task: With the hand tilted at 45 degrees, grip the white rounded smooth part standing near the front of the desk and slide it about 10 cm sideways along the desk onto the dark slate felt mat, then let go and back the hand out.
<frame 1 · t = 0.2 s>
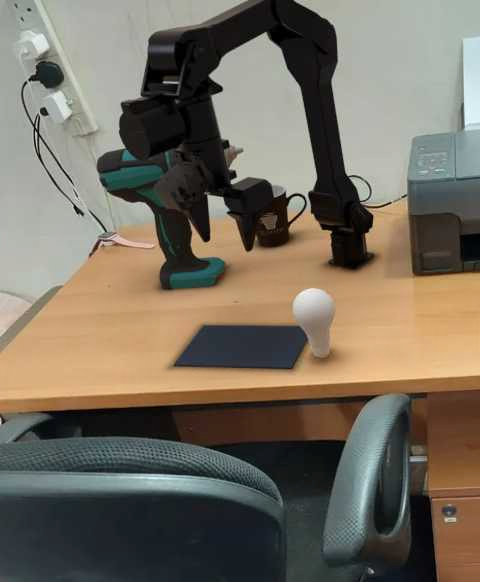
hand: (227, 246, 100), 15 cm above the table, tool pointing down, fingers open, 9 cm apart
felt mat: (245, 346, 105), on the table
coffee mug: (281, 241, 137), on the table
power drill: (204, 278, 127), on the table
white rounded smooth part: (322, 357, 100), on the table
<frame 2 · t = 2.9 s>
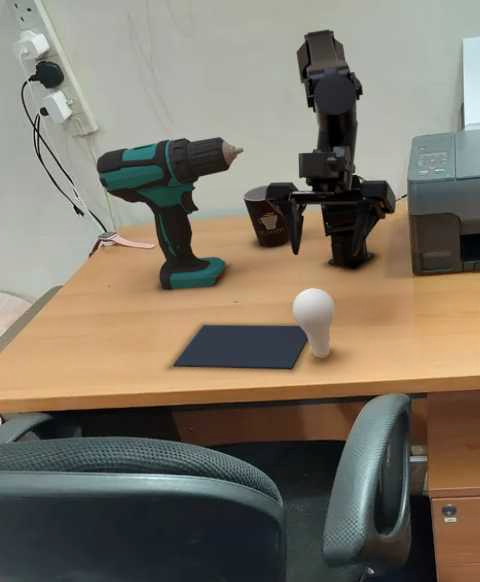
hand: (324, 254, 97), 13 cm above the table, tool tilted 45°, fingers open, 9 cm apart
nothing on the table moved.
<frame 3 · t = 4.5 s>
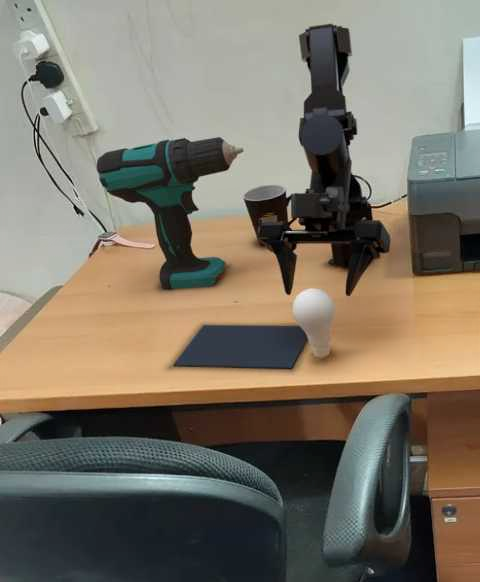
hand: (317, 294, 95), 9 cm above the table, tool tilted 45°, fingers open, 9 cm apart
nothing on the table moved.
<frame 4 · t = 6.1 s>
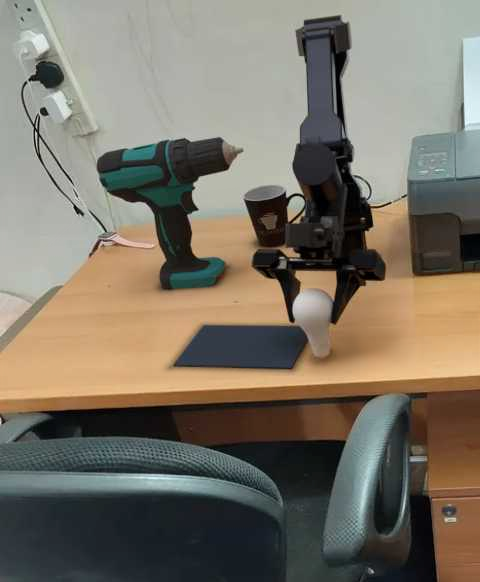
hand: (312, 323, 95), 7 cm above the table, tool tilted 45°, fingers closed on white rounded smooth part, 6 cm apart
white rounded smooth part: (322, 358, 100), on the table, touching gripper
everything else where it was.
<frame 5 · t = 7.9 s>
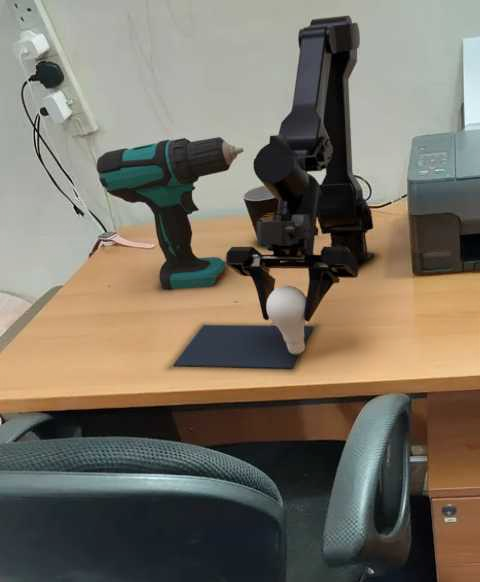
hand: (286, 320, 96), 7 cm above the table, tool tilted 45°, fingers closed on white rounded smooth part, 6 cm apart
white rounded smooth part: (297, 354, 101), resting on felt mat, touching gripper
everything else where it was.
when the fingers open (7 cm above the table, at t = 9.9 s): white rounded smooth part stays where it is, resting on felt mat.
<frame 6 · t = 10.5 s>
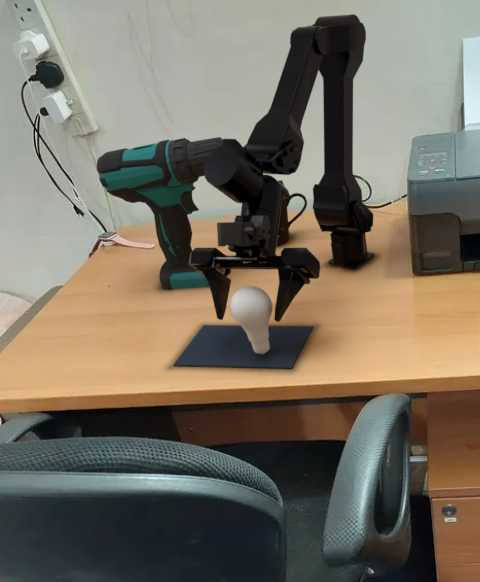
hand: (248, 320, 97), 7 cm above the table, tool tilted 45°, fingers open, 9 cm apart
white rounded smooth part: (263, 354, 102), resting on felt mat
everything else where it was.
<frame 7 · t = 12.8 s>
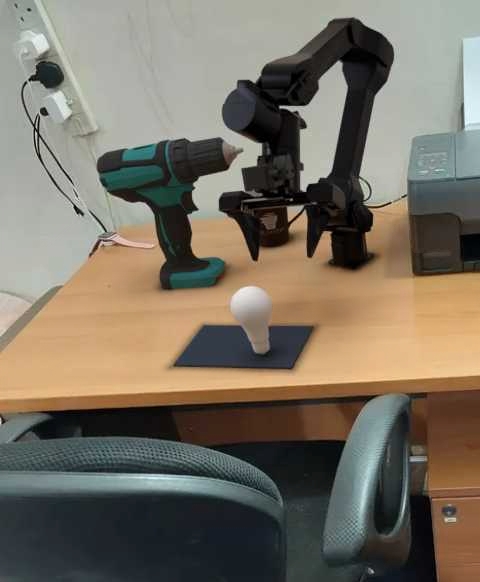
hand: (281, 259, 101), 12 cm above the table, tool tilted 35°, fingers open, 9 cm apart
nothing on the table moved.
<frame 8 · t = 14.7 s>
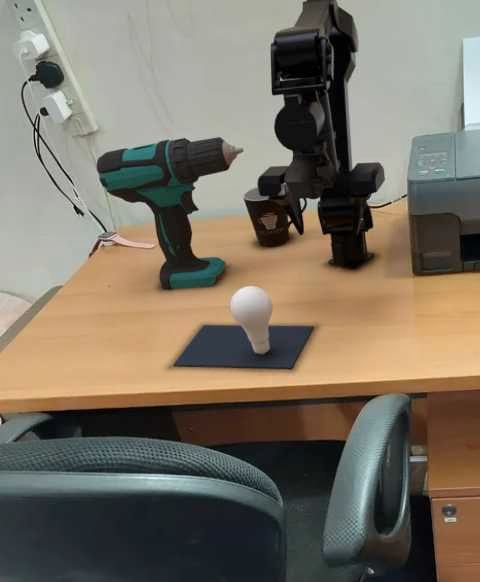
hand: (328, 234, 105), 12 cm above the table, tool pointing down, fingers open, 9 cm apart
nothing on the table moved.
at the end: white rounded smooth part 0.7 cm from the target spot, resting on felt mat; white rounded smooth part tilted 0°; the gripper is holding nothing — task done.
